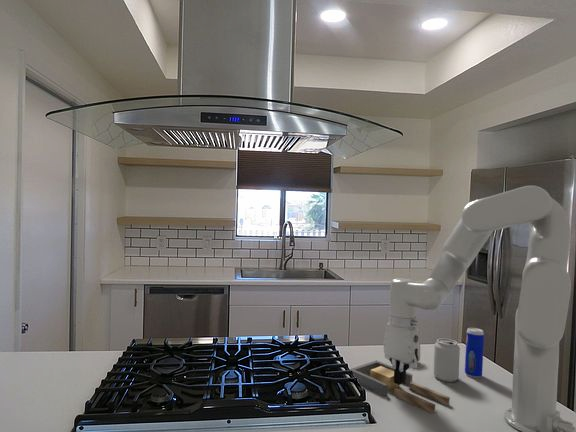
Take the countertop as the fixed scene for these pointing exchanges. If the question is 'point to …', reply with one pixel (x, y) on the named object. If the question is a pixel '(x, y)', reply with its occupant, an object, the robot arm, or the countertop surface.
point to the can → (446, 360)
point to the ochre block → (384, 376)
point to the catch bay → (370, 382)
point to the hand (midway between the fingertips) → (399, 382)
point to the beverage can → (474, 352)
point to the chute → (419, 401)
